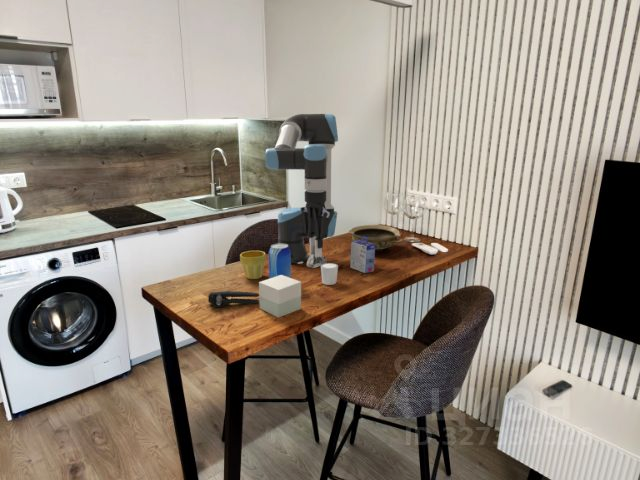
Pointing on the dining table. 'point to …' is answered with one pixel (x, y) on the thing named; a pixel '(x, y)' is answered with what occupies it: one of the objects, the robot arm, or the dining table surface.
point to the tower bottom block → (280, 306)
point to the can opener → (220, 298)
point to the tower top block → (280, 289)
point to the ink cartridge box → (362, 255)
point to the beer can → (279, 260)
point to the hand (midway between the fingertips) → (315, 255)
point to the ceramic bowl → (376, 235)
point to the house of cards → (315, 260)
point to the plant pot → (253, 263)
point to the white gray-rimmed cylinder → (329, 273)
